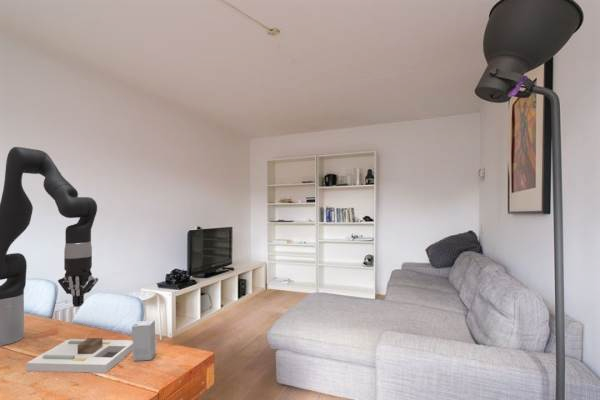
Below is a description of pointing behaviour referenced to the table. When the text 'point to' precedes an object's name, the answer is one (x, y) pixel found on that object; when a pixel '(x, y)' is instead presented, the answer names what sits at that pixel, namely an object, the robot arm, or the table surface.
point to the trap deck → (81, 357)
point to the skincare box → (143, 340)
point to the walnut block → (90, 346)
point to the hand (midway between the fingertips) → (78, 305)
